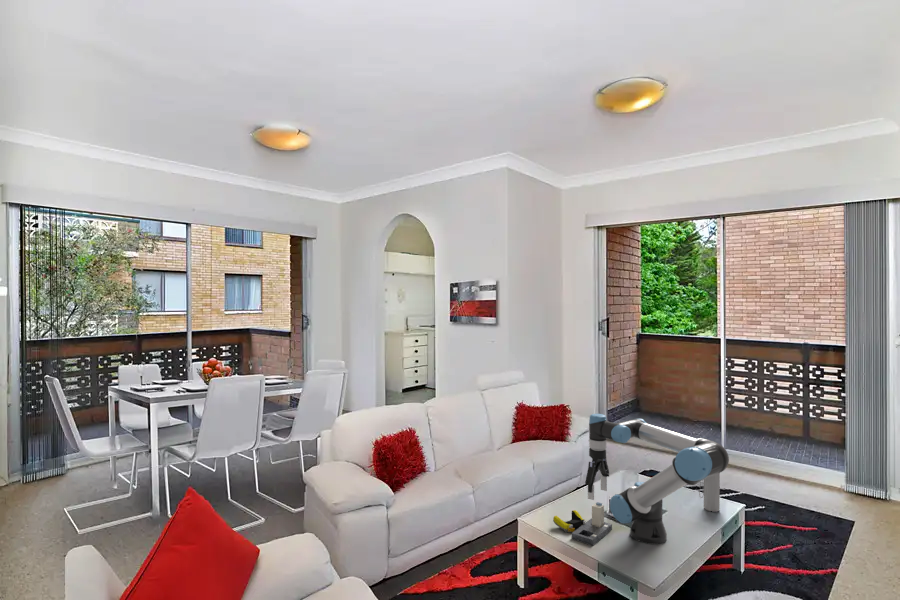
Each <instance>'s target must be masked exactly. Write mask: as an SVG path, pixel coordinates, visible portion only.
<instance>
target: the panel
mask: <svg viewBox="0 0 900 600" xmlns="http://www.w3.org/2000/svg"><path fill="white" fill-rule="evenodd" d="M611 531H613V524H612V523H609V522H606V521H604V525H603V526H602V527H597V526H594V525H592V517H591V518H590V519H588V520H586V521H585V524H583V525H582V526H581V527H579V528H578V529H577V530H575V531H574V532H571V540H572V541H573V540H574V541H577V542H580V543H583V544H586V545H589V546H592V547H593V546H595V545H596V544H597V543H598V542H599V541H600V540H601V539H604V538H605V536H606V535H608V534H609V533H610V532H611Z"/></svg>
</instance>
